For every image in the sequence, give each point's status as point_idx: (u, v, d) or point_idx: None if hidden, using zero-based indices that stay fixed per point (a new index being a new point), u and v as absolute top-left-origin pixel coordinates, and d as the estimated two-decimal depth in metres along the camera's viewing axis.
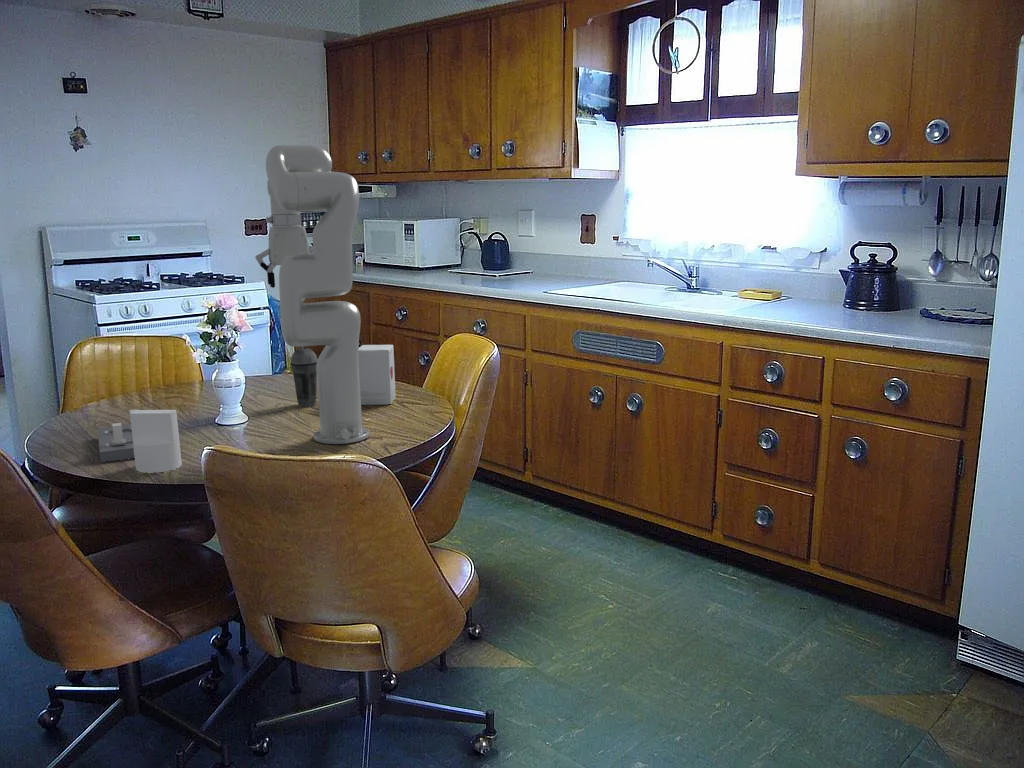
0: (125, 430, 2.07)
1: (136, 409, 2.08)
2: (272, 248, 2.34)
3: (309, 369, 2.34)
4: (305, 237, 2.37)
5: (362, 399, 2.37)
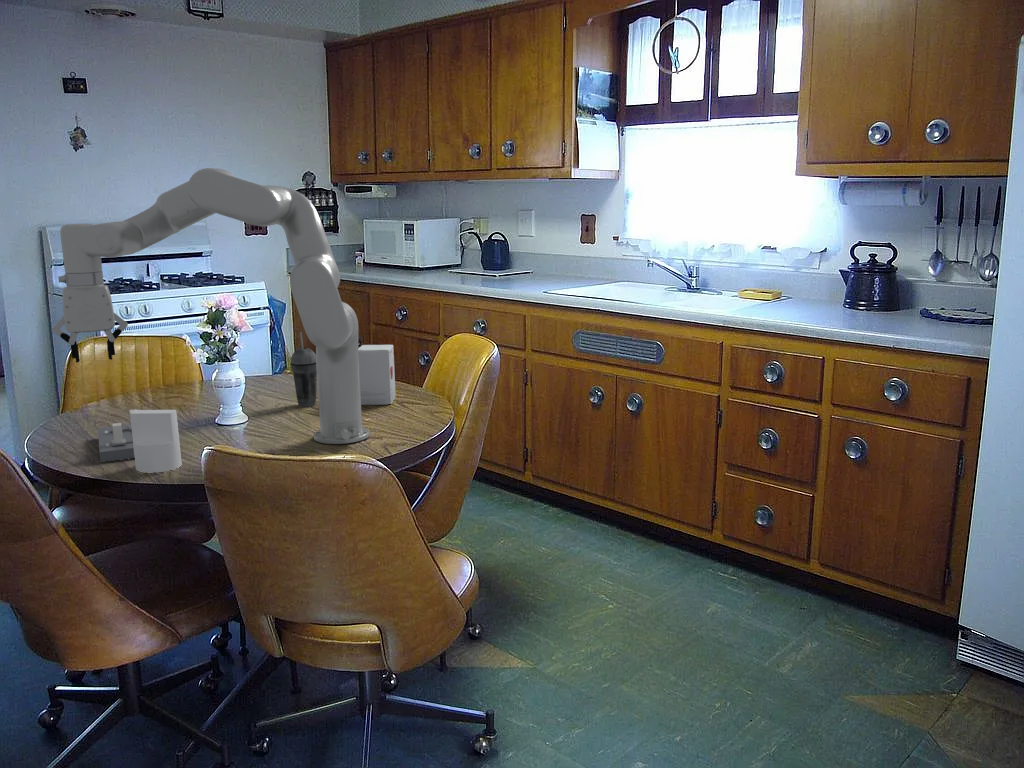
0: (125, 430, 2.07)
1: (136, 409, 2.08)
2: (65, 313, 1.95)
3: (309, 369, 2.34)
4: (108, 299, 1.98)
5: (362, 399, 2.37)
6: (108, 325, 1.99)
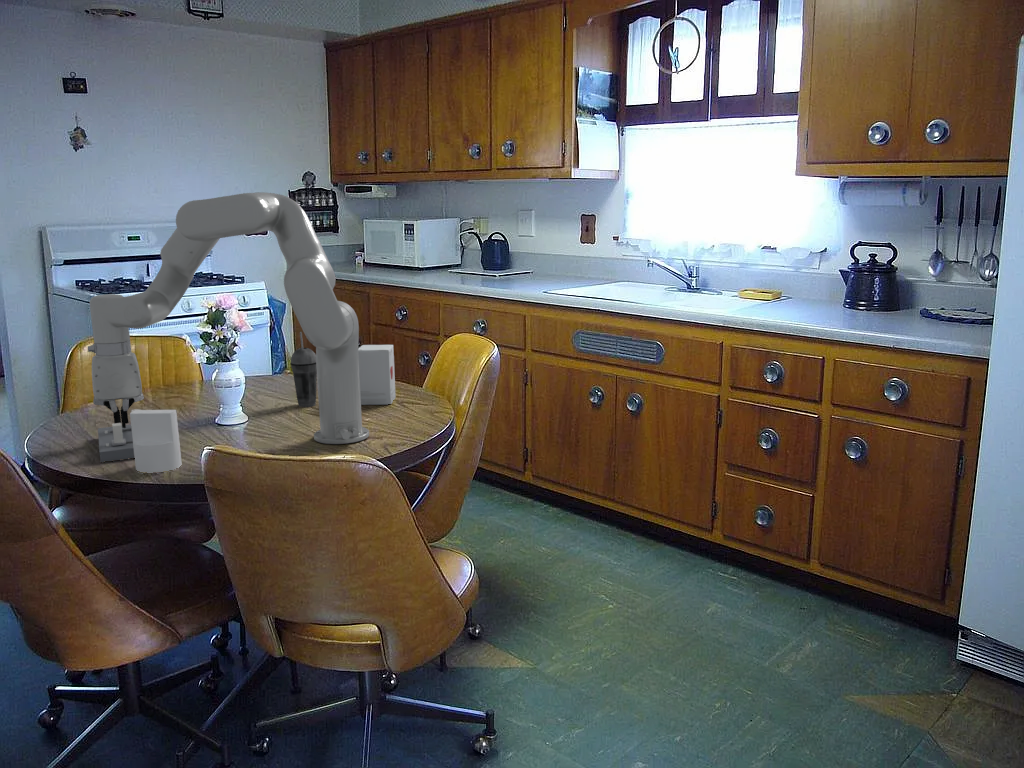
0: (125, 430, 2.07)
1: (138, 409, 2.08)
2: (94, 382, 2.00)
3: (309, 369, 2.34)
4: (135, 367, 2.03)
5: (362, 399, 2.37)
6: (136, 392, 2.04)
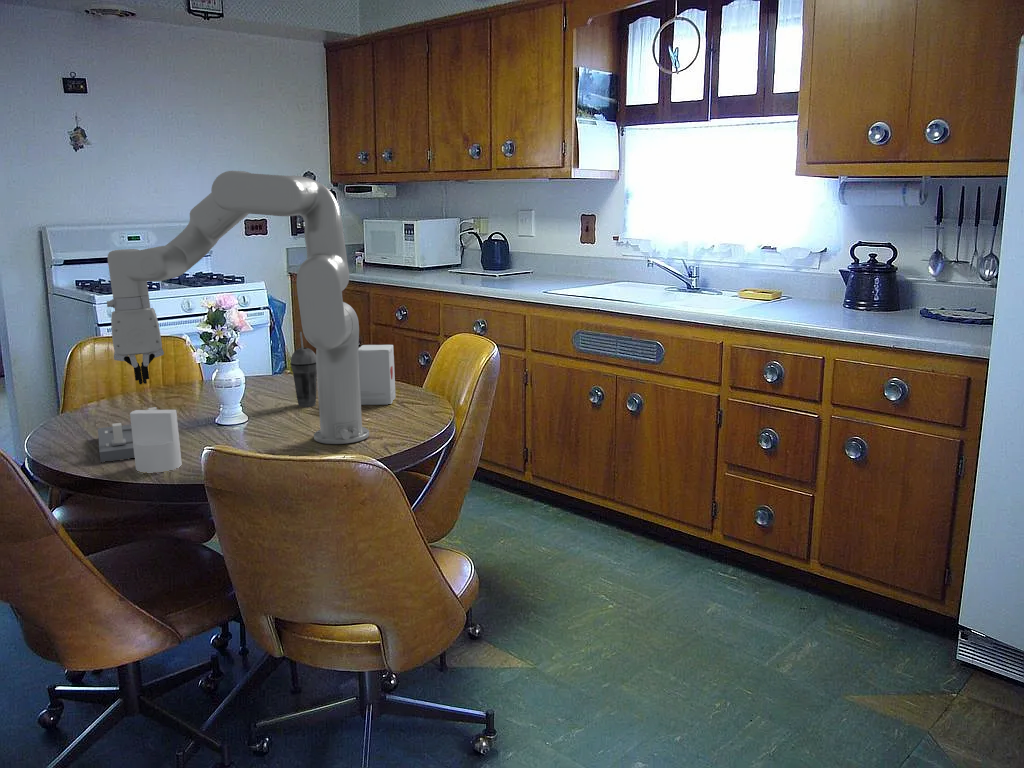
0: (125, 430, 2.07)
1: (155, 407, 2.10)
2: (114, 337, 2.00)
3: (309, 369, 2.34)
4: (155, 322, 2.03)
5: (362, 399, 2.37)
6: (156, 347, 2.04)
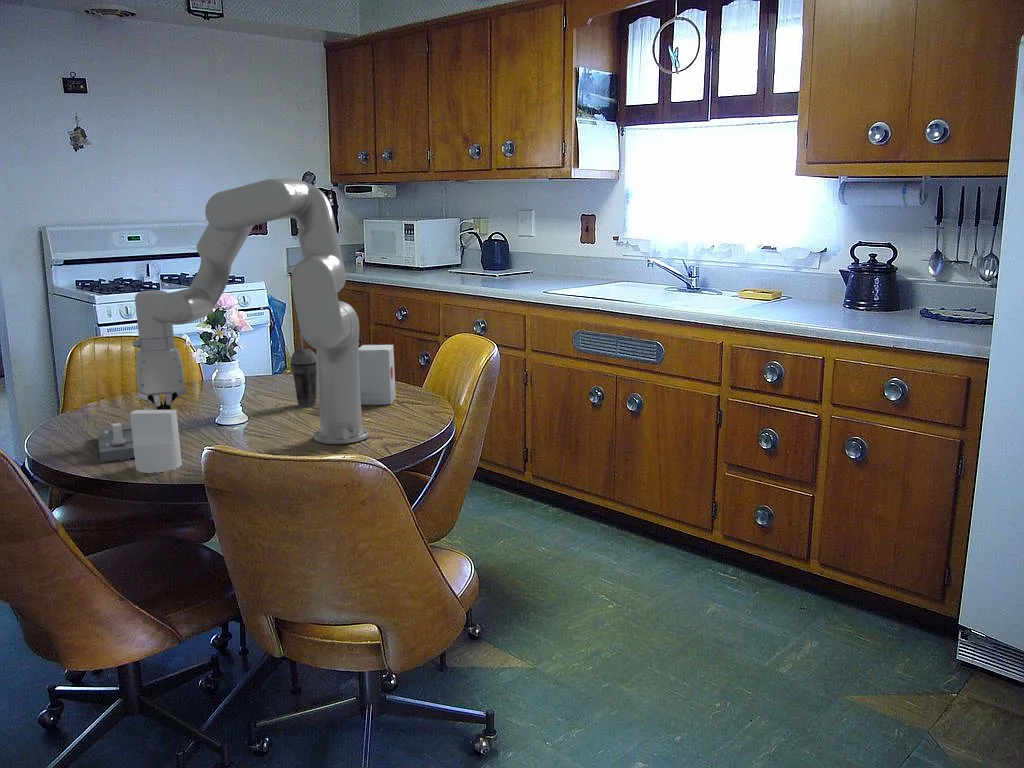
0: (125, 430, 2.07)
1: None
2: (139, 376, 2.04)
3: (309, 369, 2.34)
4: (179, 362, 2.07)
5: (362, 399, 2.37)
6: (179, 387, 2.08)
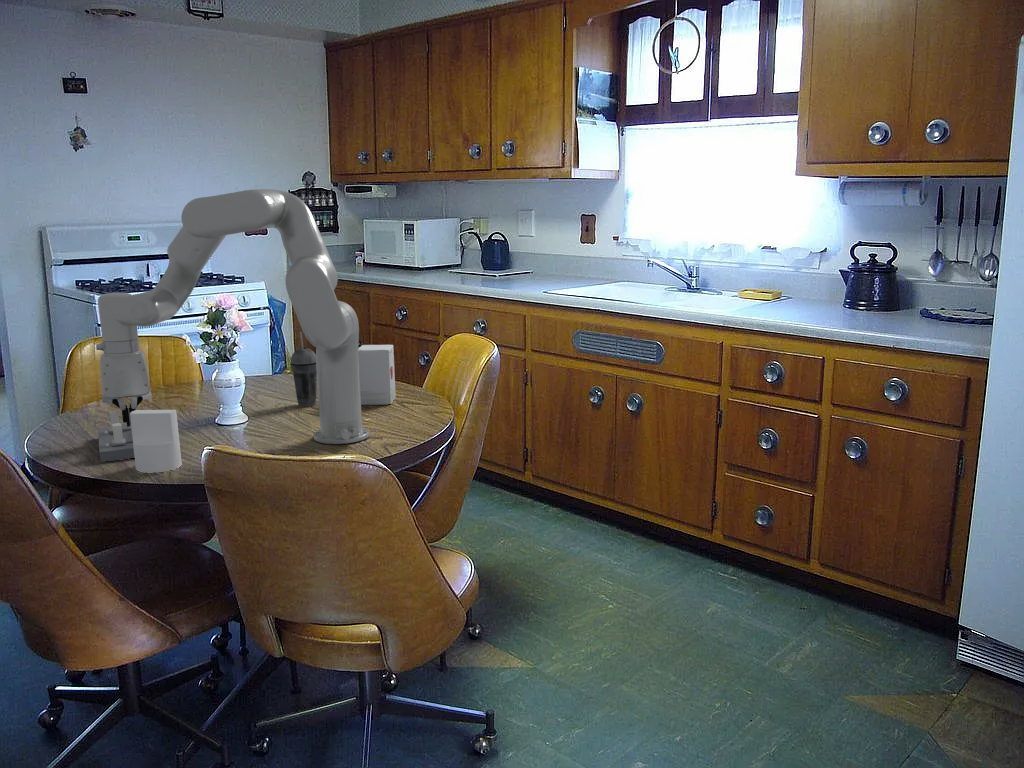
0: (125, 430, 2.07)
1: (116, 411, 2.07)
2: (103, 380, 2.01)
3: (309, 369, 2.34)
4: (143, 365, 2.04)
5: (362, 399, 2.37)
6: (144, 390, 2.05)
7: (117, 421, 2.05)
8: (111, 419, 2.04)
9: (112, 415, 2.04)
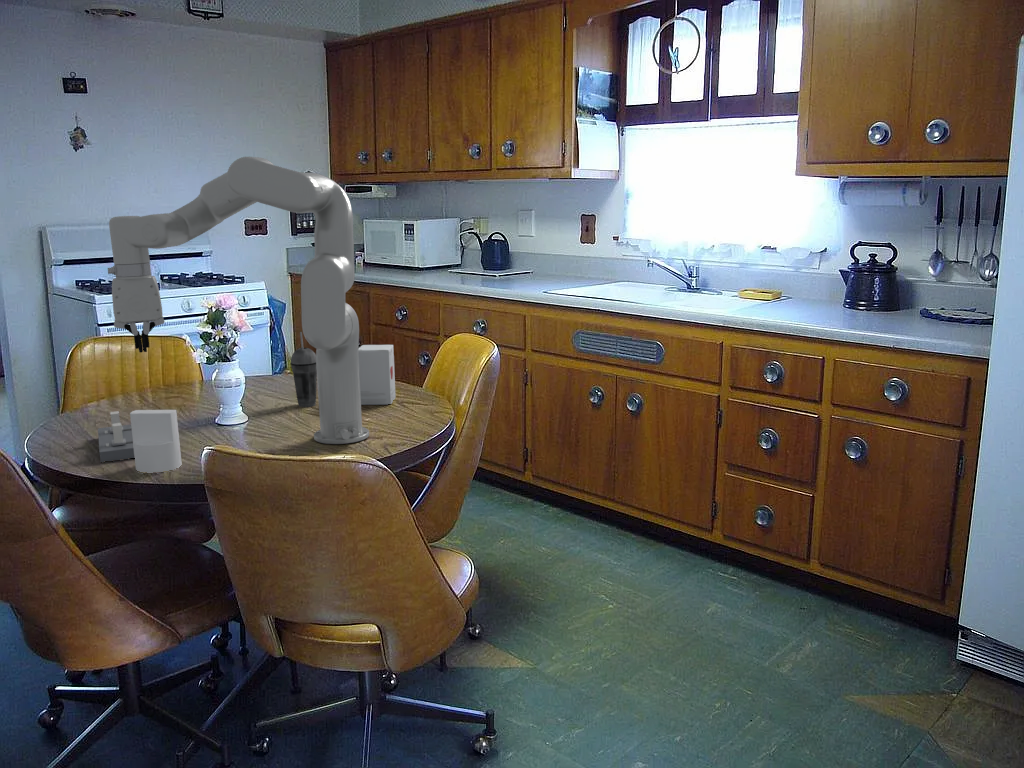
0: (125, 430, 2.07)
1: (117, 411, 2.07)
2: (115, 304, 1.99)
3: (309, 369, 2.34)
4: (156, 289, 2.02)
5: (362, 399, 2.37)
6: (156, 315, 2.03)
7: (118, 421, 2.05)
8: (112, 419, 2.04)
9: (113, 415, 2.04)
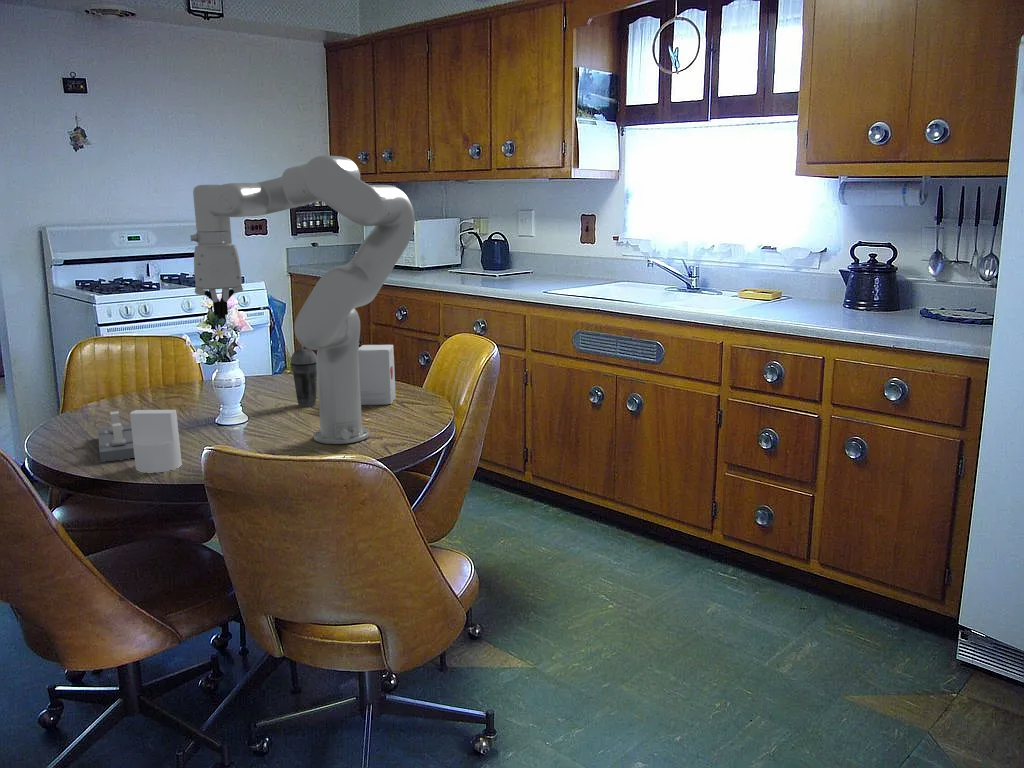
0: (125, 430, 2.07)
1: (117, 411, 2.07)
2: (197, 270, 2.03)
3: (309, 369, 2.34)
4: (236, 257, 2.06)
5: (362, 399, 2.37)
6: (236, 283, 2.07)
7: (118, 421, 2.05)
8: (112, 419, 2.04)
9: (113, 415, 2.04)
